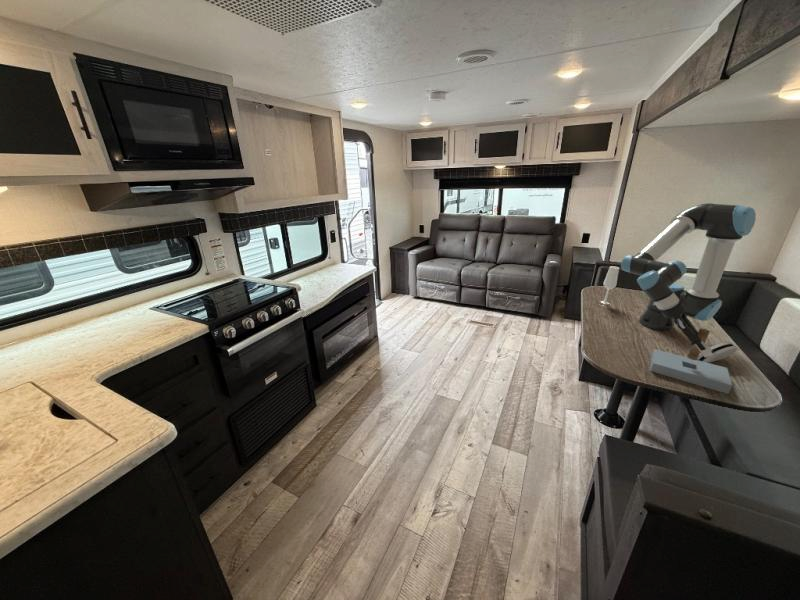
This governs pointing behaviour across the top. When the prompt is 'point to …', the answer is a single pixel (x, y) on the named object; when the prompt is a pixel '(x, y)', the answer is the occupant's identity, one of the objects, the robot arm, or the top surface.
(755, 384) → the top surface
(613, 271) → the champagne flute
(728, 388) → the hole block
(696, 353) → the peg
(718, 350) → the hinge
